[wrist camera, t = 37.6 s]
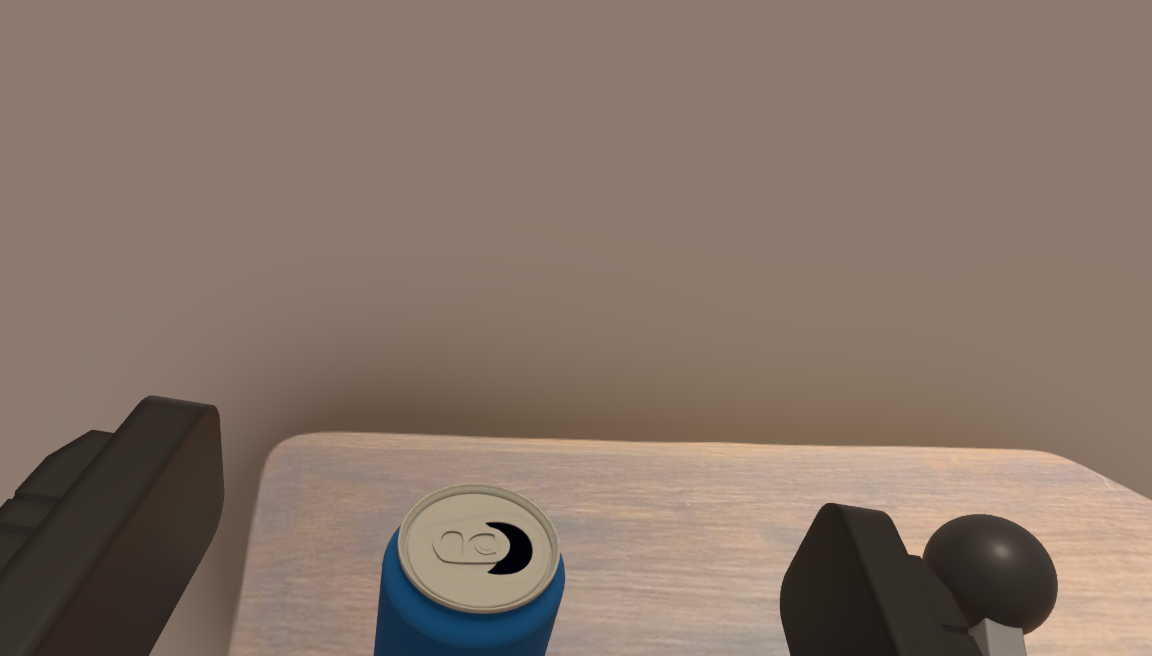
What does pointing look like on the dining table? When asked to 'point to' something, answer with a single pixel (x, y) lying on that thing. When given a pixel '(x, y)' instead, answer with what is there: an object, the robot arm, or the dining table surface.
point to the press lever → (994, 579)
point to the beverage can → (470, 576)
